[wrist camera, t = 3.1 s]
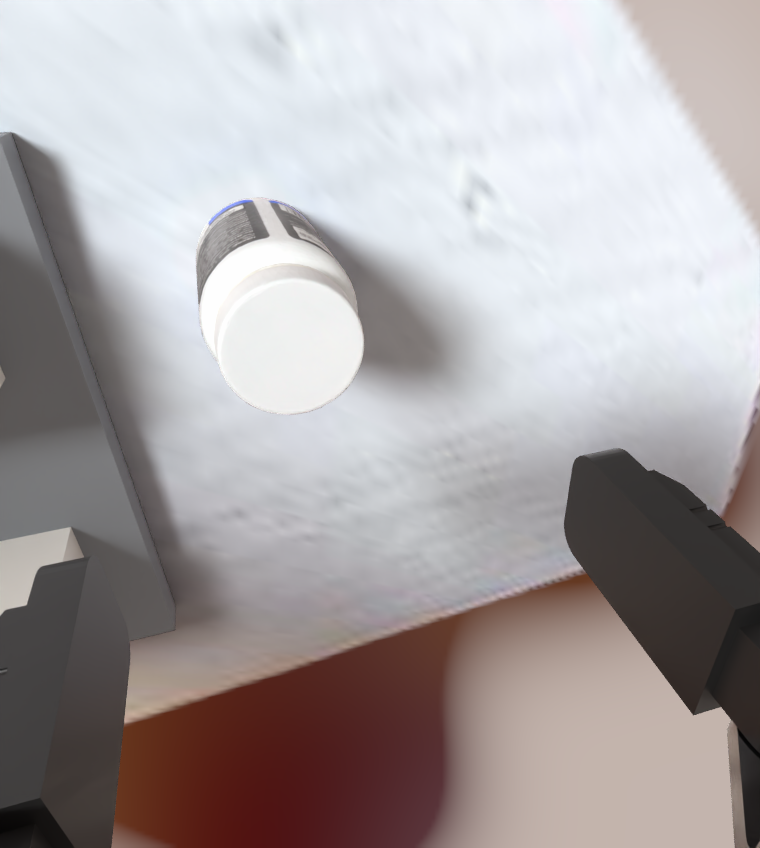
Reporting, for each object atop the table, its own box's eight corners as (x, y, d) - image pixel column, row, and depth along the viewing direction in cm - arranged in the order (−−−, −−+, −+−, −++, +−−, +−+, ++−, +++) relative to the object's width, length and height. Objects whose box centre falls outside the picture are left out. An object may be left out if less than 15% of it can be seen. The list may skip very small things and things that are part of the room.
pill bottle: (205, 323, 24) (212, 438, 17) (186, 197, 21) (186, 271, 14) (324, 313, 25) (377, 417, 18) (320, 192, 22) (380, 259, 15)
